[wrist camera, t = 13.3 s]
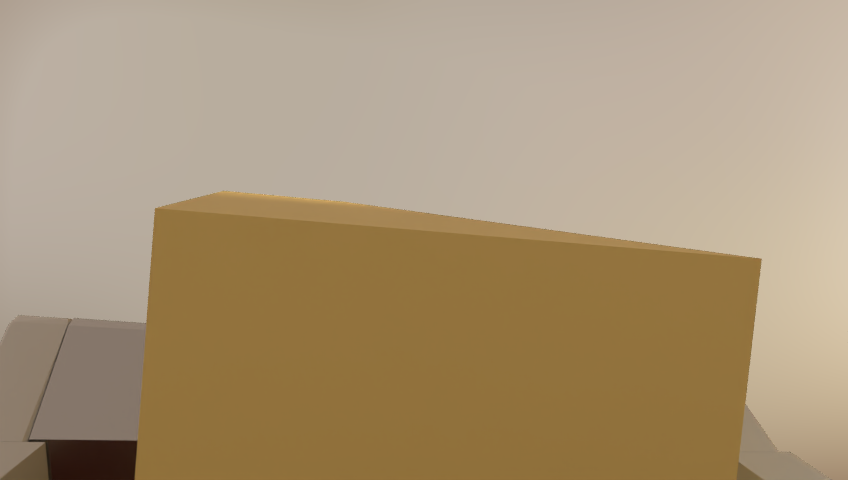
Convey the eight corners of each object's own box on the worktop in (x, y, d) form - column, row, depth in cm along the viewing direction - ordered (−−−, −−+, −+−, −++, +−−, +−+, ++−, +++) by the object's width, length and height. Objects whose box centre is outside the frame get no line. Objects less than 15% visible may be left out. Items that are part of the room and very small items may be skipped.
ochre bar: (333, 317, 29) (343, 201, 29) (698, 811, 6) (761, 259, 6) (214, 310, 28) (223, 191, 28) (105, 881, 5) (155, 208, 5)
